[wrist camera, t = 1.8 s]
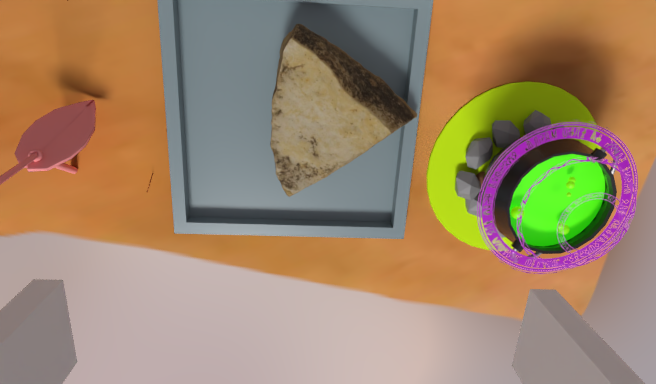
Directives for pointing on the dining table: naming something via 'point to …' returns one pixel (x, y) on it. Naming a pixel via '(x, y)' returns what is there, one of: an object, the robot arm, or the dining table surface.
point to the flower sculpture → (55, 139)
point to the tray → (255, 115)
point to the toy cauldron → (528, 176)
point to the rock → (326, 110)
